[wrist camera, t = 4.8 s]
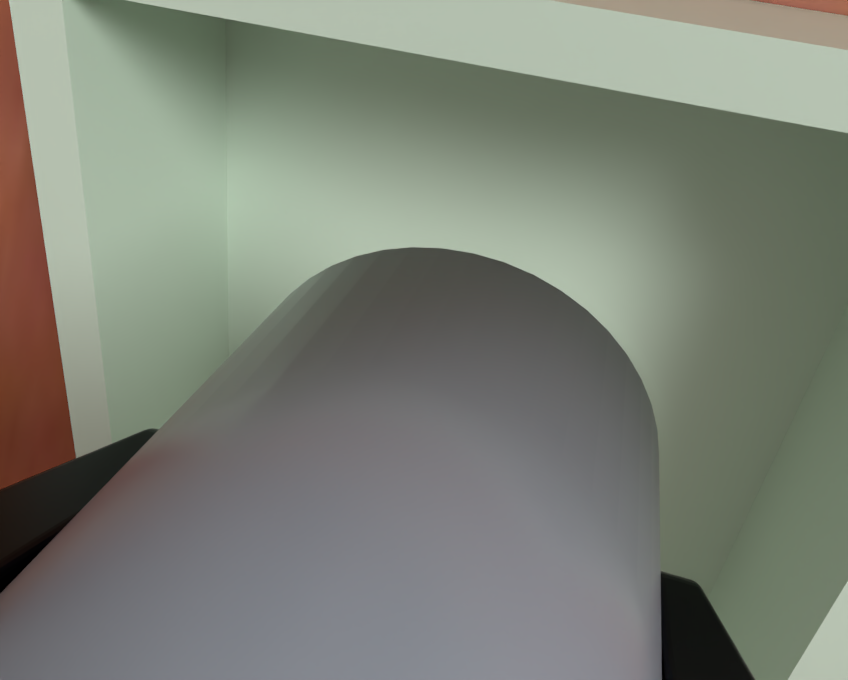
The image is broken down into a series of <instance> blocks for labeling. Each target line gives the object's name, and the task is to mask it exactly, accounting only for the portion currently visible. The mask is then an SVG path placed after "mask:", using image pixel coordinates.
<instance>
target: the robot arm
mask: <svg viewBox="0 0 848 680" xmlns="http://www.w3.org/2000/svg"><path fill="white" fill-rule="evenodd" d="M158 430H159V429H155V428H150V429H146V430H143V431H141V432H138V433H136V434H133V435H131V436H129V437H126V438H124V439H121V440H119V441H117V442H114V443H112V444H109V445H107V446H104V447H102V448H100V449H97V450H95V451H92V452H90V453H88V454H85V455H83V456H80V457H78V458H76V459H73V460H71V461H68V462H66V463H63V464H61V465H59V466H56V467H54V468H51V469H49V470H47V471H44V472H42V473H39V474H37V475H34V476H32V477H30V478H27V479H25V480H22V481H20V482H18V483H15V484H13V485H10V486H8V487H6V488H3V489H1V490H0V593H1V592H2V591H3V590H4V589H5V588H6V587H7V586H8V585H9V584H10V583H11V582H12V581H13V580H14V579H15V578H16V577H17V576H18V575H19V574H20V573H21V572H22V571H23V570H24V568H25V567H26V566H27V565H28V564H29V563H30V562H31V561H32V560H33V559H34V558H35V557H36V556H37V555H38V554H39V553H40V552H41V551H42V550H43V549H44V548H45V547H46V546H47V545H48V544H49V543H50V542H51V541H52V540H53V538H54V537H55V536H56V535H57V534H58V533H59V532H60V531H61V530H62V529H63V528H64V527H65V526H66V525H67V524H68V523H69V522H70V521H71V520H72V519H73V518H74V517H75V516H76V515H77V514H78V513H79V512H80V511H81V510H82V509H83V507H84V506H85V505H86V504H87V503H88V502H89V501H90V500H91V499H92V498H93V497H94V496H95V495H96V494H97V493H98V492H99V491H100V490H101V489H102V488H103V487H104V486H105V485H106V484H107V483H108V482H109V481H110V480H111V479H112V478H113V476H114V475H115V474H116V473H117V472H118V471H119V470H120V469H121V468H122V467H123V466H124V465H125V464H126V463H127V462H128V461H129V460H130V459H131V458H132V457H133V456H134V455H135V454H136V453H137V452H138V451H139V450H140V449H141V448H142V446H143V445H144V444H145V443H146V442H147V441H148V440H149V439H150V438H151V437H152V436H153V435H154V434H155V433H156V432H157V431H158ZM661 636H662V680H755V678H754V676H753V675H752V673H751V671H750V669H749V668H748V666H747V664H746V663H745V661H744V659H743V657H742V656H741V654H740V652H739V651H738V649H737V647H736V646H735V644H734V642H733V640H732V639H731V637H730V635H729V634H728V632H727V630H726V628H725V627H724V625H723V623H722V622H721V620H720V618H719V616H718V615H717V613H716V611H715V610H714V608H713V606H712V605H711V603H710V601H709V599H708V598H707V596H706V594H705V593H704V591H703V589H702V588H701V586H700V585H699V584H698V583H697V582H695V581H693V580H691V579H688V578H684V577H681V576H677V575H673V574H670V573H666V572H663V571H661Z"/></svg>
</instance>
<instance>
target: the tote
mask: <svg viewBox="0 0 848 680" xmlns="http://www.w3.org/2000/svg"><path fill="white" fill-rule="evenodd" d="M9 4H10V11H11V18H12V24H13V31H14V38H15V45H16V52H17V58H18V65H19V72H20V79H21V86H22V92H23V99H24V106H25V113H26V120H27V127H28V133H29V140H30V147H31V154H32V161H33V167H34V174H35V181H36V188H37V195H38V202H39V208H40V215H41V222H42V229H43V236H44V242H45V249H46V256H47V263H48V270H49V276H50V283H51V290H52V297H53V304H54V311H55V317H56V324H57V331H58V338H59V345H60V351H61V358H62V365H63V372H64V379H65V386H66V392H67V399H68V406H69V413H70V420H71V426H72V433H73V440H74V447H75V454H76V458H78V457H80V456H83V455H85V454H88V453H90V452H92V451H95V450H97V449H100V448H102V447H104V446H107V445H109V444H112V443H114V442H117V441H119V440H121V439H124V438H126V437H129V436H131V435H133V434H136V433H138V432H141V431H143V430H146V429H150V428H155V429H160V428H161V427H162V426H163V425H164V424H165V423H166V422H167V421H168V420H169V419H170V418H171V417H172V415H173V414H174V413H175V412H176V411H177V410H178V409H179V408H180V407H181V406H182V405H183V404H184V403H185V402H186V401H187V400H188V399H189V398H190V397H191V396H192V395H193V394H194V393H195V392H196V391H197V390H198V389H199V388H200V387H201V385H202V384H203V383H204V382H205V381H206V380H207V379H208V378H209V377H210V376H211V375H212V374H213V373H214V372H215V371H216V370H217V369H218V368H219V367H220V366H221V365H222V364H223V363H224V362H225V361H226V360H227V359H228V358H229V357H230V356H231V354H232V353H233V352H234V351H235V350H236V349H237V348H238V347H239V346H240V345H241V344H242V343H243V342H244V341H245V340H246V339H247V338H248V337H249V336H250V335H251V334H252V333H253V332H254V331H255V330H256V329H257V328H258V327H259V326H260V324H261V323H262V322H263V321H264V320H265V319H266V318H267V317H268V316H269V315H270V314H271V313H272V312H273V311H274V310H275V309H276V308H277V307H278V306H279V305H280V304H281V303H282V302H283V301H284V300H285V299H286V298H287V297H288V296H289V295H290V293H292V292H293V291H294V290H295V289H297V288H298V287H299V286H300V285H302V284H303V283H304V282H305V281H307V280H308V279H309V278H311V277H313V276H314V275H316V274H318V273H320V272H321V271H323V270H325V269H326V268H328V267H330V266H332V265H335V264H337V263H340V262H342V261H345V260H347V259H350V258H353V257H355V256H359V255H363V254H368V253H372V252H376V251H380V250H387V249H398V248H409V247H421V248H444V249H450V250H456V251H462V252H469V253H474V254H478V255H481V256H485V257H488V258H491V259H495V260H498V261H502V262H505V263H507V264H510V265H512V266H514V267H517V268H519V269H521V270H524V271H526V272H528V273H531V274H533V275H535V276H537V277H538V278H540V279H542V280H544V281H545V282H547V283H549V284H551V285H552V286H554V287H556V288H558V289H559V290H561V291H562V292H564V293H565V294H566V295H568V296H569V297H570V298H572V299H573V300H574V301H576V302H577V303H578V304H580V305H581V306H582V307H584V308H585V309H586V310H587V311H588V312H589V313H591V314H592V315H593V316H594V317H595V318H596V319H597V320H598V321H599V322H600V323H601V324H602V325H603V326H604V327H605V328H606V329H607V330H608V331H609V332H610V333H611V335H612V336H613V337H614V339H615V340H616V341H617V342H618V344H619V345H620V346H621V347H622V349H623V350H624V351H625V352H626V354H627V355H628V357H629V359H630V360H631V362H632V364H633V365H634V367H635V369H636V371H637V372H638V374H639V376H640V377H641V379H642V382H643V384H644V387H645V389H646V392H647V394H648V397H649V399H650V402H651V404H652V408H653V413H654V417H655V421H656V426H657V432H658V447H659V494H660V565H661V571H663V572H666V573H670V574H673V575H677V576H681V577H684V578H688V579H691V580H693V581H695V582H697V583H698V584H699V585H700V586H701V588H702V589H703V591H704V593H705V594H706V596H707V598H708V599H709V601H710V603H711V605H712V606H713V608H714V610H715V611H716V613H717V615H718V616H719V618H720V620H721V622H722V623H723V625H724V627H725V628H726V630H727V632H728V634H729V635H730V637H731V639H732V640H733V642H734V644H735V646H736V647H737V649H738V651H739V652H740V654H741V656H742V657H743V659H744V661H745V663H746V664H747V666H748V668H749V669H750V671H751V673H752V675H753V676H754V678H755V680H848V16H845V15H839V14H833V13H826V12H820V11H814V10H808V9H802V8H795V7H789V6H783V5H777V4H770V3H764V2H758V1H752V0H9Z"/></svg>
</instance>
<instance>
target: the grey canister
mask: <svg viewBox="0 0 848 680" xmlns="http://www.w3.org/2000/svg"><path fill="white" fill-rule="evenodd" d="M0 680H662V636H661V565H660V494H659V447H658V432H657V426H656V421H655V417H654V413H653V408H652V404H651V402H650V399H649V397H648V394H647V392H646V389H645V387H644V384H643V382H642V379H641V377H640V376H639V374H638V372H637V371H636V369H635V367H634V365H633V364H632V362H631V360H630V359H629V357H628V355H627V354H626V352H625V351H624V350H623V349H622V347H621V346H620V345H619V344H618V342H617V341H616V340H615V339H614V337H613V336H612V335H611V333H610V332H609V331H608V330H607V329H606V328H605V327H604V326H603V325H602V324H601V323H600V322H599V321H598V320H597V319H596V318H595V317H594V316H593V315H592V314H591V313H589V312H588V311H587V310H586V309H585V308H584V307H582V306H581V305H580V304H578V303H577V302H576V301H574V300H573V299H572V298H570V297H569V296H568V295H566V294H565V293H564V292H562V291H561V290H559V289H558V288H556V287H554V286H552V285H551V284H549V283H547V282H545V281H544V280H542V279H540V278H538V277H537V276H535V275H533V274H531V273H528V272H526V271H524V270H521V269H519V268H517V267H514V266H512V265H510V264H507V263H505V262H502V261H498V260H495V259H491V258H488V257H485V256H481V255H478V254H474V253H469V252H462V251H456V250H450V249H444V248H421V247H409V248H398V249H387V250H380V251H376V252H372V253H368V254H363V255H359V256H355V257H353V258H350V259H347V260H345V261H342V262H340V263H337V264H335V265H332V266H330V267H328V268H326V269H325V270H323V271H321V272H320V273H318V274H316V275H314V276H313V277H311V278H309V279H308V280H307V281H305V282H304V283H303V284H302V285H300V286H299V287H298V288H297V289H295V290H294V291H293V292H292V293H290V295H289V296H288V297H287V298H286V299H285V300H284V301H283V302H282V303H281V304H280V305H279V306H278V307H277V308H276V309H275V310H274V311H273V312H272V313H271V314H270V315H269V316H268V317H267V318H266V319H265V320H264V321H263V322H262V323H261V324H260V326H259V327H258V328H257V329H256V330H255V331H254V332H253V333H252V334H251V335H250V336H249V337H248V338H247V339H246V340H245V341H244V342H243V343H242V344H241V345H240V346H239V347H238V348H237V349H236V350H235V351H234V352H233V353H232V354H231V356H230V357H229V358H228V359H227V360H226V361H225V362H224V363H223V364H222V365H221V366H220V367H219V368H218V369H217V370H216V371H215V372H214V373H213V374H212V375H211V376H210V377H209V378H208V379H207V380H206V381H205V382H204V383H203V384H202V385H201V387H200V388H199V389H198V390H197V391H196V392H195V393H194V394H193V395H192V396H191V397H190V398H189V399H188V400H187V401H186V402H185V403H184V404H183V405H182V406H181V407H180V408H179V409H178V410H177V411H176V412H175V413H174V414H173V415H172V417H171V418H170V419H169V420H168V421H167V422H166V423H165V424H164V425H163V426H162V427H161V428H160V429H159V430H158V431H157V432H156V433H155V434H154V435H153V436H152V437H151V438H150V439H149V440H148V441H147V442H146V443H145V444H144V445H143V446H142V448H141V449H140V450H139V451H138V452H137V453H136V454H135V455H134V456H133V457H132V458H131V459H130V460H129V461H128V462H127V463H126V464H125V465H124V466H123V467H122V468H121V469H120V470H119V471H118V472H117V473H116V474H115V475H114V476H113V478H112V479H111V480H110V481H109V482H108V483H107V484H106V485H105V486H104V487H103V488H102V489H101V490H100V491H99V492H98V493H97V494H96V495H95V496H94V497H93V498H92V499H91V500H90V501H89V502H88V503H87V504H86V505H85V506H84V507H83V509H82V510H81V511H80V512H79V513H78V514H77V515H76V516H75V517H74V518H73V519H72V520H71V521H70V522H69V523H68V524H67V525H66V526H65V527H64V528H63V529H62V530H61V531H60V532H59V533H58V534H57V535H56V536H55V537H54V538H53V540H52V541H51V542H50V543H49V544H48V545H47V546H46V547H45V548H44V549H43V550H42V551H41V552H40V553H39V554H38V555H37V556H36V557H35V558H34V559H33V560H32V561H31V562H30V563H29V564H28V565H27V566H26V567H25V568H24V570H23V571H22V572H21V573H20V574H19V575H18V576H17V577H16V578H15V579H14V580H13V581H12V582H11V583H10V584H9V585H8V586H7V587H6V588H5V589H4V590H3V591H2V592H1V593H0Z"/></svg>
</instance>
